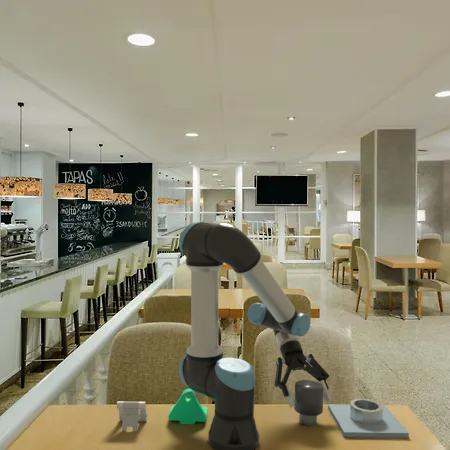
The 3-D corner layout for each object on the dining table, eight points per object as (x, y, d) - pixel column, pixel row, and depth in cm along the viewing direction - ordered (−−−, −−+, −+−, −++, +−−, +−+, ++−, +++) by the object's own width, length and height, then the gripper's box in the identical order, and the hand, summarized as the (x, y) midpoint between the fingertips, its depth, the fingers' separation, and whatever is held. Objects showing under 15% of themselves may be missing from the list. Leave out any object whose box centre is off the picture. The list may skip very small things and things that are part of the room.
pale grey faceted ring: (344, 417, 151) (344, 404, 151) (359, 408, 159) (359, 396, 158) (373, 428, 144) (373, 414, 144) (387, 418, 152) (387, 405, 151)
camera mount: (207, 414, 155) (208, 384, 155) (205, 425, 147) (206, 393, 147) (172, 413, 155) (172, 382, 155) (168, 423, 148) (169, 391, 147)
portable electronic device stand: (147, 420, 150) (147, 394, 149) (143, 431, 142) (143, 405, 141) (120, 419, 149) (121, 394, 149) (115, 431, 142) (115, 404, 141)
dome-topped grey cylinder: (288, 421, 151) (289, 385, 151) (304, 412, 158) (305, 378, 157) (312, 431, 145) (313, 393, 144) (327, 421, 151) (328, 385, 151)
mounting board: (343, 436, 141) (344, 432, 141) (328, 408, 161) (328, 404, 161) (408, 437, 142) (408, 433, 142) (384, 409, 162) (384, 405, 162)
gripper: (314, 346, 172) (337, 402, 158) (254, 353, 162) (272, 413, 149) (323, 336, 166) (347, 393, 153) (261, 342, 157) (281, 403, 144)
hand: (310, 403), depth 151 cm, fingers open, 13 cm apart
